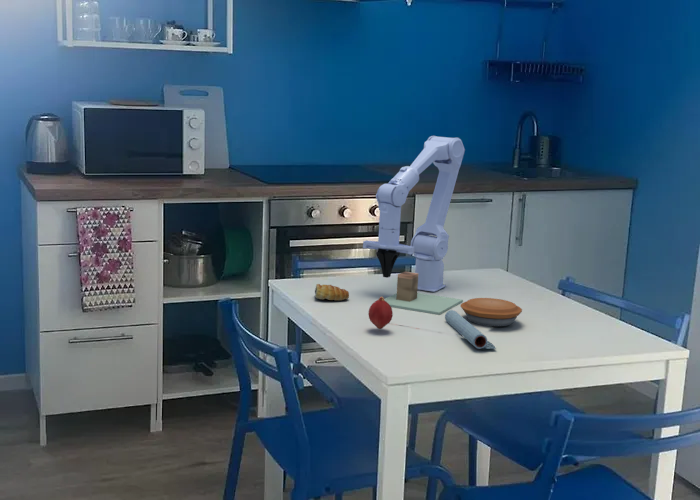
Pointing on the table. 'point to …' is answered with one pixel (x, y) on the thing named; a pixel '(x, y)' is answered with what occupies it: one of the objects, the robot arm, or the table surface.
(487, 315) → the pie
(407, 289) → the walnut block
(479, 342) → the aluminum foil
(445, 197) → the robot arm
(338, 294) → the pastry
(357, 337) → the table surface
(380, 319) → the onion
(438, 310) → the sage mat
